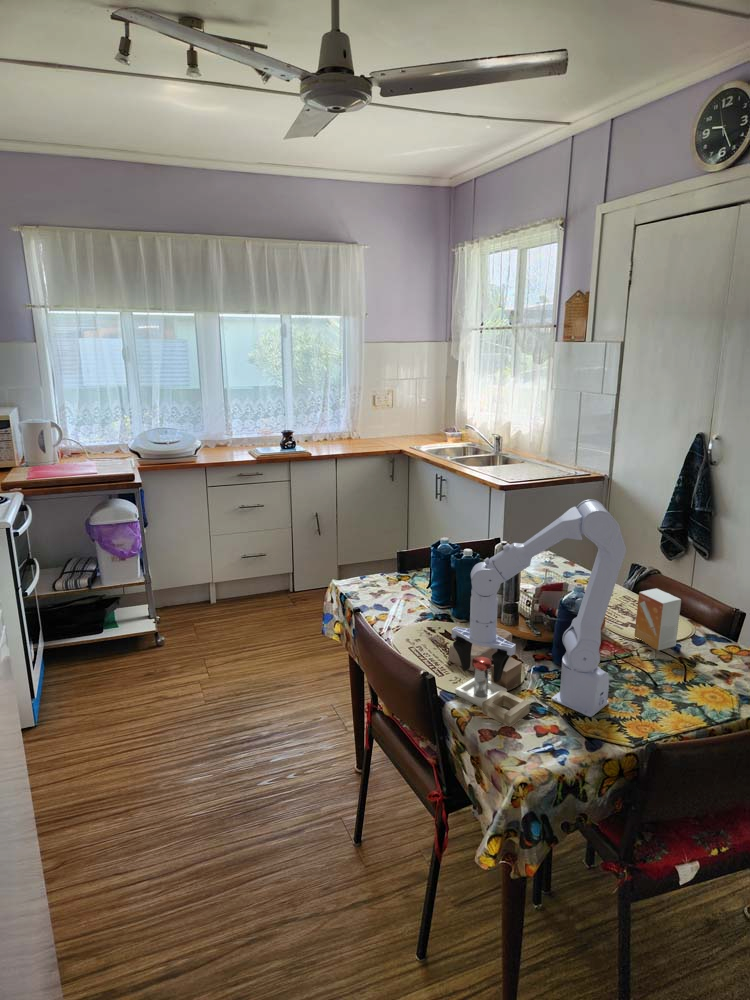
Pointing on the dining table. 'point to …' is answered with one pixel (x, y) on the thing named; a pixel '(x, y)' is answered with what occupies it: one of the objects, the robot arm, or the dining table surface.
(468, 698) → the tray
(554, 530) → the robot arm
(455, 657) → the brick
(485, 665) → the pin
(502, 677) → the brown rectangular block
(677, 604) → the small box
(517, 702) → the socket block
